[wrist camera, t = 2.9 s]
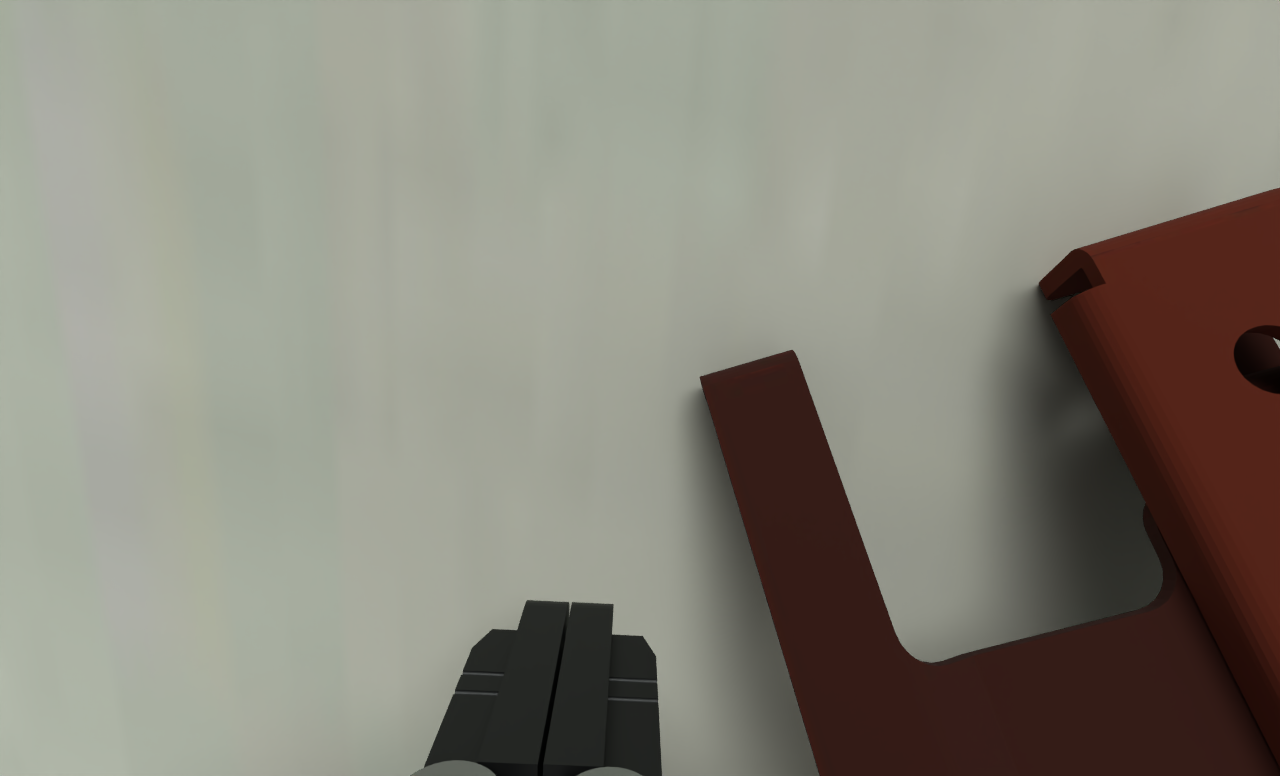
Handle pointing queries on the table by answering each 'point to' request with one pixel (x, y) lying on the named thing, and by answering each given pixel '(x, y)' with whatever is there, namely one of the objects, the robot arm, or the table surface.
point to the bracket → (1173, 518)
